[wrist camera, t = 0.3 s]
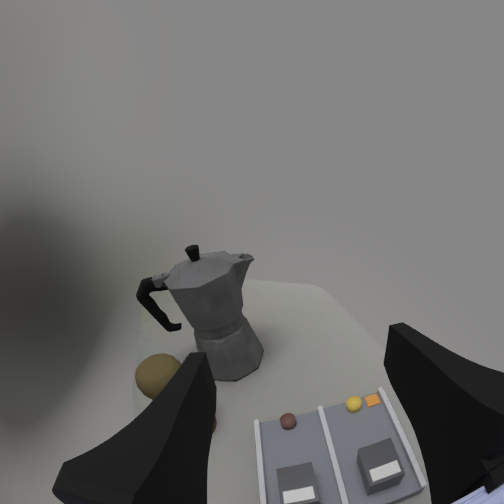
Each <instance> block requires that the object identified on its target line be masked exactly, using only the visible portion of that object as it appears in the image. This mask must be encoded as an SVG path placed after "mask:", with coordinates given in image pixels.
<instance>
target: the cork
mask: <svg viewBox="0 0 504 504" xmlns="http://www.w3.org/2000/svg"><path fill="white" fill-rule="evenodd" d="M180 366H181V364H180V362H179V361H178V360H177V359H176V358H174V357H173V356H171V355H168V354H156V355H153V356H150V357H148V358H147V359H145V360H144V361H142V363H141V364H140V365H139V366H138V368H137V369H136V374H135V379H136V383H137V386H138V388H139V389H140V391H141V392H142V393H143V394H144V395H145V396H147V397H148V398H150V399H152V400H154V399H155V398H156V397H157V395H158V394H159V393H160V392H161V391H162V390H163V388H164V387H165V386H166V385H167V383H168V382H169V381H170V379H171V378H172V377H173V376H174V374H175V373H176V372H177V370H178V369H179V367H180ZM216 424H217V423H216V417H215V419H214V426H213V432H214V431H215V428H216ZM213 432H212V434H213Z"/></svg>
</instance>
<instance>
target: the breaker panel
mask: <svg viewBox="0 0 504 504" xmlns="http://www.w3.org/2000/svg"><path fill="white" fill-rule="evenodd" d="M317 408H318V411H314V412H310V413H306V414H302V415H297V416H294V415H293V414H291V413H287V414H284V415H282V416H281V418H280V419H279V420H274V421H269V422H263V423H260V421H259V419H257V420H254V426H255V439H256V452H257V465H258V478H259V491H260V503H261V504H280V496H279V487H278V479H277V471H276V469H277V468H283V467H289V466H294V465H299V464H303V463H308V462H312V465H313V470H314V474H315V479H316V484H317V488H318V493H319V498H320V503H321V504H394V503H397V502H399V501H401V500H404V499H406V498H409V497H411V496H413V495H416V494H418V493H420V492H421V491H422V490H423V489H424V488H425V487H426V485H427V484H426V481H425V479H424V477H423V474H422V472H421V470H420V467H419V465H418V463H417V460H416V458H415V456H414V453H413V451H412V449H411V447H410V444H409V442H408V440H407V438H406V436H405V434H404V431H403V429H402V427H401V425H400V423H399V421H398V418H397V416H396V414H395V412H394V410H393V408H392V406H391V404H390V402H389V400H388V398H387V396H386V394H385V392H384V390H383V388H382V387H379V388H378V391H377V393H374V394H371V395H368V396H365V397H362V398H360V397H358V396H351V397H349V398H348V399H347V401H346V403H343V404H340V405H336V406H333V407H329V408H325V409H323V407H322V405H321V406H317ZM390 437H391V439H392V442H393V444H394V446H395V449H396V451H397V454H398V456H399V458H400V461H401V463H402V466H403V468H404V471H405V475H404V477H403V478H402V480H401V482H400V484H398V485H395V486H393V487H390V488H388V489H385V490H382V491H379V492H377V493H374V494H371V495H368V496H367V494H366V490H365V487H364V484H363V480H362V477H361V474H360V470H359V467H358V464H357V454H358V449H359V448H362V447H365V446H368V445H371V444H374V443H377V442H380V441H382V440H385V439H388V438H390Z"/></svg>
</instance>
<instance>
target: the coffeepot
mask: <svg viewBox="0 0 504 504" xmlns="http://www.w3.org/2000/svg"><path fill="white" fill-rule="evenodd" d="M185 251H186V253H187V255H188V256H189V258H190V259H188V260H186V261H184V262H181V263H179V264H177V265H175V266H174V267H173V268H172V269H171V270H170V271H169V272H168V273H162V274H159V275H155V276H154V277H150V278H146V279H143V280H142V281H141V283H140V286H139V288H138V291H137V294H136V297H137V299H138V301H139V302H140V303H141V304H142V305H143V306H144V307H145V308H146V309H147V310H148V312H149V313H150V314H151V315H152V316H153V317H154V318H155V319H156V320H157V321H158V322H159V323H160V324H161V325H162V326H163V327H164V328H165V329H166V330H167V331H169V332H172V331H177V330H180V329H181V323H178V324H173V323H171V322H170V321H169V319H168V317H167V315H166V314H165V313H164V312H163V311H162V310H161V309H160V308H159V307H158V305H157V304H156V302H155V301H154V299H153V298H151V297H150V296H149V293H150V292H153V291H163V290H168V289H169V291H170V293H171V294H172V296H173V298H174V299H175V301H176V303H177V304H178V306H179V307H180V309H181V311H182V312H183V314H184V315H185V317H186V319H187V320H188V322H189V323H190V324H191V326H192V327H193V328H194V330H195V331H194V336H195V340H196V345H197V349H198V352H206V355H207V358H208V362H209V365H210V369H211V372H212V375H213V379H214V380H219V381H233V380H238V379H241V378H243V377H245V376H247V375H249V374H250V373H252V372H253V371H254V370H255V369H256V368H258V366H259V364H260V362H261V359H262V353H263V350H264V349H263V347H262V345H261V344H260V342H259V340H258V338H257V337H256V335H255V333H254V331H253V330H252V328H251V326H250V324H249V322H248V321H247V319H246V318H245V317H244V316H243V314H242V311H241V310H242V307H243V299H242V291H241V288H242V285H243V282H244V278H245V275H246V272H247V270H248V267H249V265H250V263H251V262H252V261H253V260H254V258H253V257H252V256H251V255H249V254H243V253H242V254H231V255H230V254H228V253H227V252H225V251H221V252H214V253H206V254H199V248H198V245H191V246H189V247H187V248H186V249H185Z"/></svg>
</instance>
